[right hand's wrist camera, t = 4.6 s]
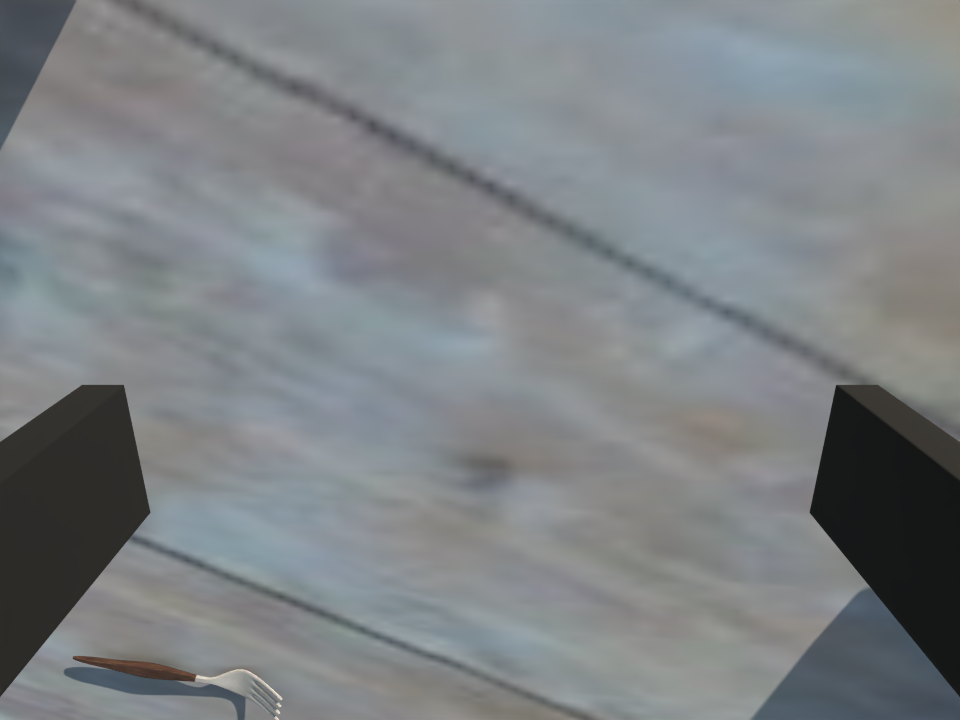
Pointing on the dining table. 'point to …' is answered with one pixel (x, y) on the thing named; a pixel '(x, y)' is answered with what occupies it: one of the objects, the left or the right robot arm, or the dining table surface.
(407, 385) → the dining table surface
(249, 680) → the fork
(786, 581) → the dining table surface
